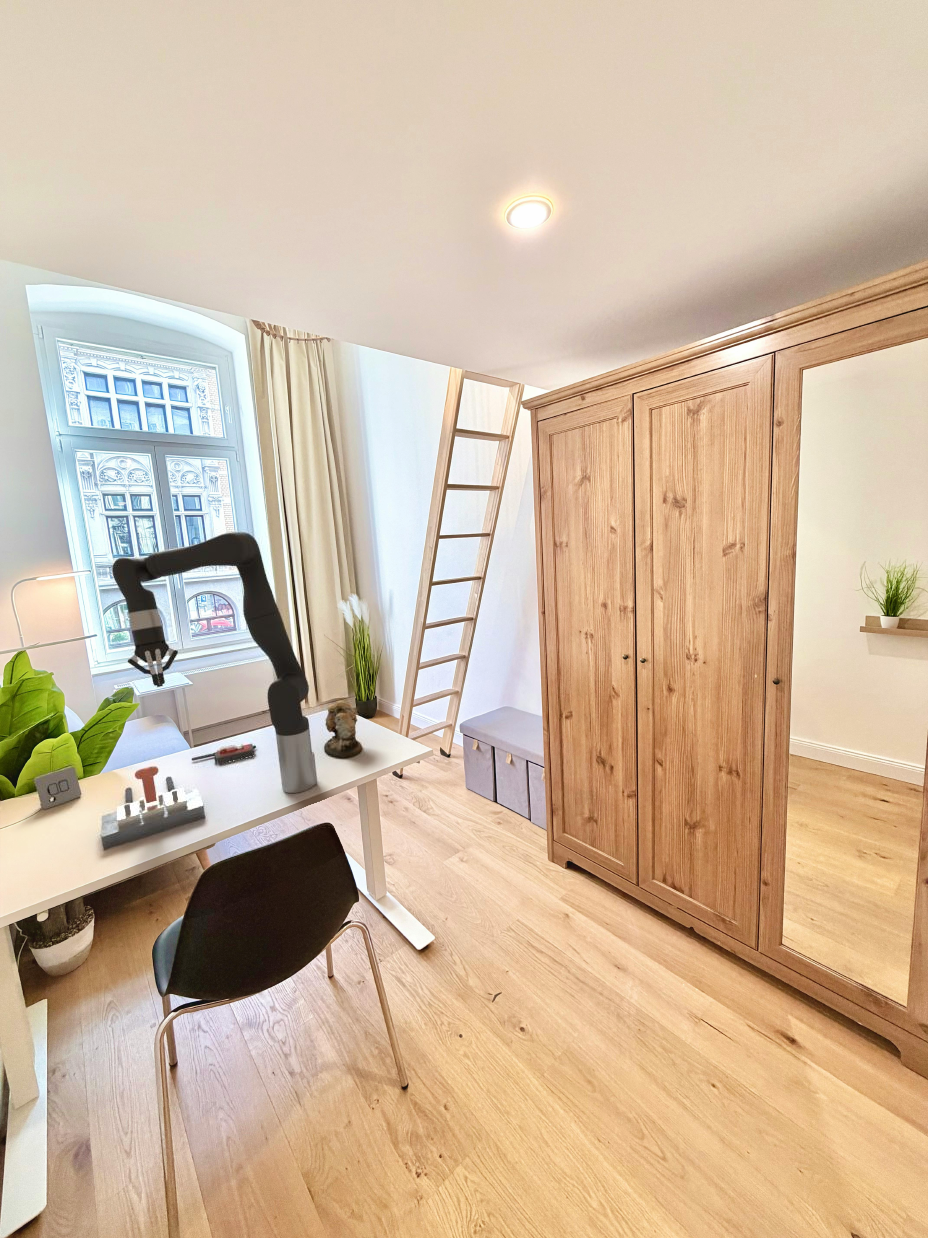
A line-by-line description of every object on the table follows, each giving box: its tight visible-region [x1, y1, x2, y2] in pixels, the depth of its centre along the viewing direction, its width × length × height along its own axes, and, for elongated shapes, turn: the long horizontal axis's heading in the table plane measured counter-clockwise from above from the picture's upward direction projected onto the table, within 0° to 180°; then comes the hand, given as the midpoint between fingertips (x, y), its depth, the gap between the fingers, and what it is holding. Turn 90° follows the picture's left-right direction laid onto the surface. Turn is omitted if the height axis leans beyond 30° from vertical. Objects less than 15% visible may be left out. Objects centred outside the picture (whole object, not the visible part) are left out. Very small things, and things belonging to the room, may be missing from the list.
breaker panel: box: [100, 788, 206, 851], centre depth 130 cm, size 22×12×8 cm, turn 125°
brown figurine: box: [323, 700, 363, 759], centre depth 171 cm, size 18×12×17 cm, turn 38°
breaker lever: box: [134, 765, 160, 804], centre depth 126 cm, size 5×2×12 cm
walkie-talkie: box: [191, 743, 257, 765], centre depth 169 cm, size 9×4×20 cm
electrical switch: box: [33, 766, 82, 810], centre depth 145 cm, size 9×5×9 cm, turn 141°
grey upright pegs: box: [125, 776, 175, 804], centre depth 144 cm, size 13×20×3 cm, turn 35°
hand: (160, 686), depth 143 cm, fingers closed
